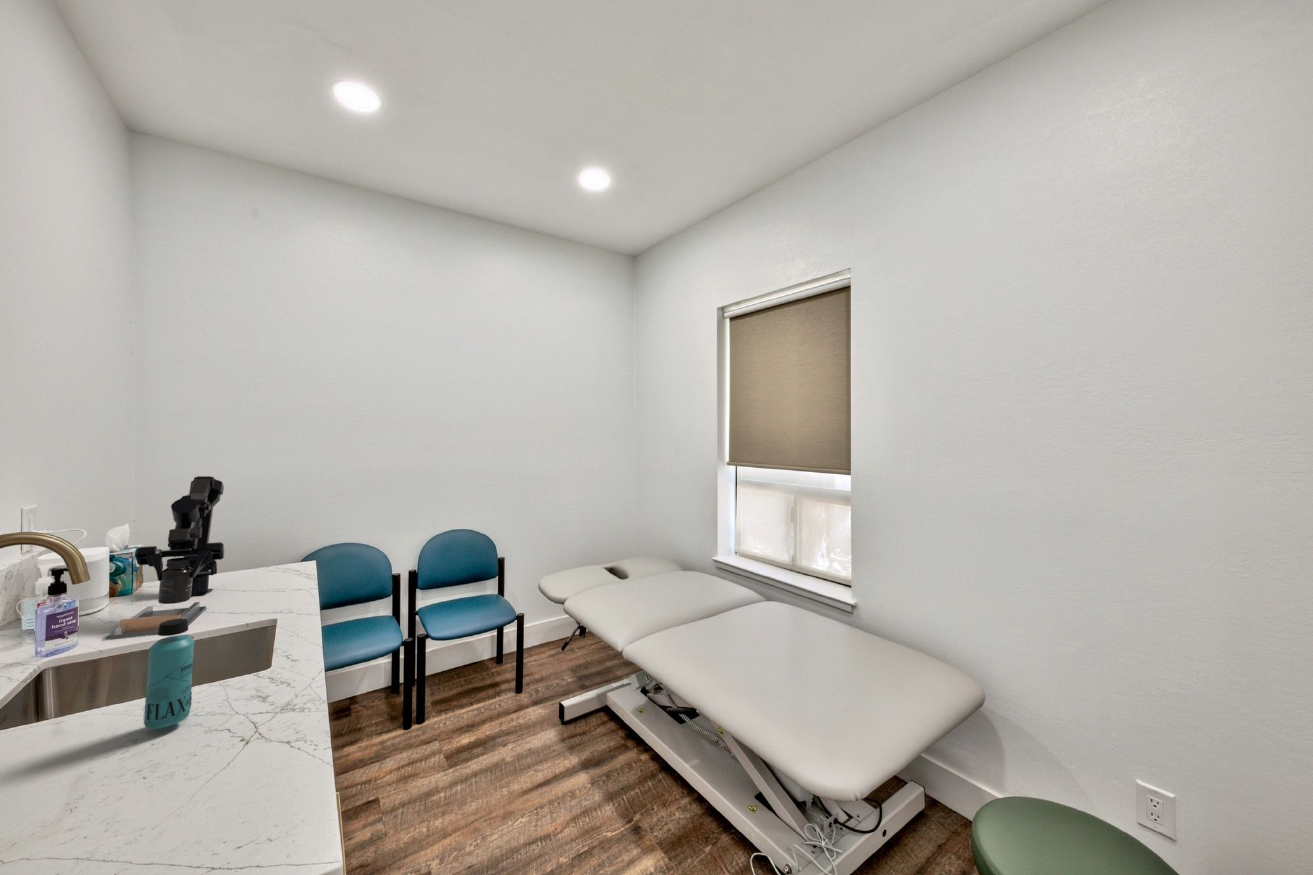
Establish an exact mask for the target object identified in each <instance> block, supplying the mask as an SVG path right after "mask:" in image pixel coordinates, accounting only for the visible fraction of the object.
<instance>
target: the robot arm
mask: <svg viewBox="0 0 1313 875" xmlns="http://www.w3.org/2000/svg"><path fill="white" fill-rule="evenodd" d="M189 485H190V486H189V493H188V494H186V495H182V496H181V497H180V498H179V499H177V500H175V501H174V502H173V503H171V506H170V508H171V513H172V518H173V521H174V523H175V527H174V528H171V529H169V531H168V537H167V538H168V539H167V543H168V544H167V547H168V548H169V549H160V548H158V547H157V545H153V546H152V545H149V546H139V547H138V548H137V549H136V550H135V553H134V556H135V559H136V563H137V565H138V566H148V567H151V568H152V567H153V568H154V570H155V572H156V578H157V581H158V582H160V578H161V572H162V571H163V570H164V562H163V558H190V565H188V567H191V568H192V569H193V571H192V578H193V581H192V590H191V597H195V596H197V597H198V596H205V595H206V594H208V593H211V592H212V591H214V588H209V585H210V584H209V581H210V576H214V575H217V574H218V565H217V564H218V563H217V561H218V560H219V561H221V560H223V559H224V557H225V545H224V543H223V542H220V541H219V542H210V537H211V536H210V534H211V526H212V520H213V511H214V507H215V506H217V504H218V503H219V502H220V501H221V497H222V496H223V494H224V490H225V488H224V487H225V486H224V483H223V481H221V480H218V479H216V478H215V476H211V475H210V476H209V475H207V476H204V475H202V476H201V475H198V476H195V477H193V480H192V481H190V484H189ZM221 495H222V496H221Z"/></svg>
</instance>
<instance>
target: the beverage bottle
mask: <svg viewBox="0 0 1313 875" xmlns="http://www.w3.org/2000/svg"><path fill="white" fill-rule="evenodd" d="M188 630H189V626H188V620H187V619H172V620H168V621H164V622H162V623H160V625H159V631H158V634H157V635H158V637H160V636H161V637H163V638H161V639H159V640H157V641H156V642H155V643H153V644H152V645H151V646H150V647H149V648H148V654H149V655H148V666H147V682H146V683H147V684H146V688H145V690H144V691H145V699H144V702H143V703H144V712H143V715H142V716H143V720H142V721H143V725H144V727H145V728H146V729H149V730H150V729H151V730H153V729H162V728H163V729H164V728H167V727H171V726H174V725H177V724H178V723H180V722H181V723H182V721H185V720H186V719H187V718H188V717H189V715H190V713H191V708H192V702H193V701H192V700H193V697H192V694H193V688H192V687H193V672H194V670H195V669H194V659H195V657H194V650H195V649H194V647H195V639H194V638H192V637H190V636H188V635H185V634H184V633H185V632H187V631H188Z"/></svg>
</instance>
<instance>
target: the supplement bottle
mask: <svg viewBox="0 0 1313 875" xmlns="http://www.w3.org/2000/svg"><path fill="white" fill-rule="evenodd" d="M188 565H190V558H183V557H171V558H168V559H167V560H166V564H165V566H166V568H164V569H163V571H162V572H161V578H160V581H159V588H158V589H159V590H158V598H157V600H158V603H159V604H162V605H172V604H173V605H174V604H180V603H183V602H187V601H189V600H190V599H191V598H192V596H191V590H192V581H193V578H192V571H193V569H192V568H191V567H188Z"/></svg>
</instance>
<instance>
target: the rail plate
mask: <svg viewBox="0 0 1313 875" xmlns="http://www.w3.org/2000/svg"><path fill="white" fill-rule="evenodd" d="M206 610H207V605H205V606H201V601H197V602H195V601H194V603H192V604H191V605H190V606H189V607H181V608H169V609H162V610H154V606H153V605H151V606H150V605H149V606H148V605H147V606H146V607H145V608H143V609H142V610H141V611H139V612H137V613H136V614H135V615H134V616H132V617H130V618H126V619H124V618H122V619H120V620H119V624H118V625H119V626H118V627H116V628H115V629H114V630H113V631H111V632H110V633H109V634H107V635H106V639H110V640H116V639H126V638H127V637H128V638H138V637H145V636H146V635H147V636H156V635H158V631H159V625H160V623H162V622H164V621H168V620H172V619H187V620H188V627H189V626H190V625H191V624H192V623H193V622H194V621H195V620H196V619H197V618H199V616H201V615H202V614H203V613H204V612H205V611H206ZM137 636H138V637H137Z"/></svg>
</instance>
